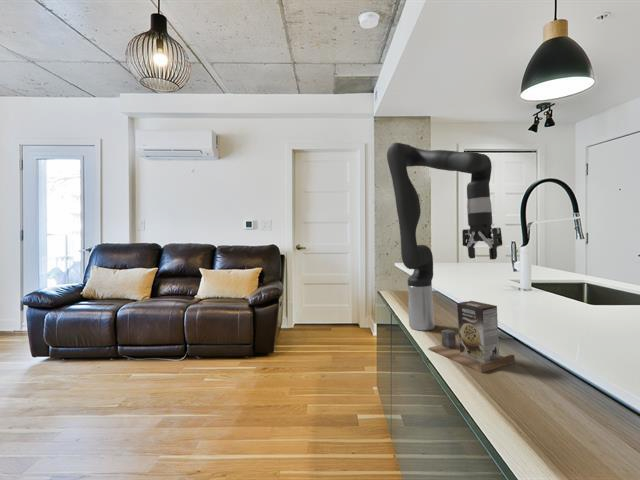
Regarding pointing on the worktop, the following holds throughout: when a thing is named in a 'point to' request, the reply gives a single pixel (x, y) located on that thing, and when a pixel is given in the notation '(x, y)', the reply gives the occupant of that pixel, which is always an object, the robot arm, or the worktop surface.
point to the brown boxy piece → (478, 331)
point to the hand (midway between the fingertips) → (482, 258)
